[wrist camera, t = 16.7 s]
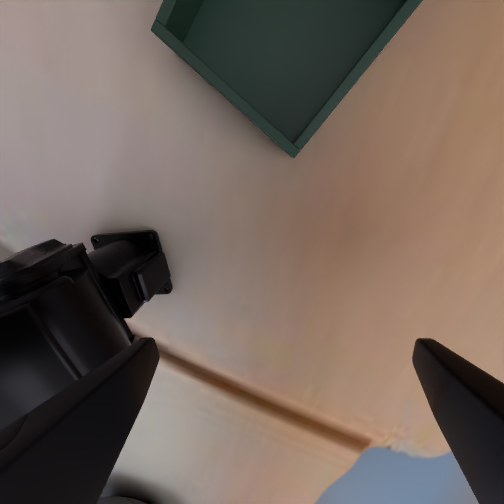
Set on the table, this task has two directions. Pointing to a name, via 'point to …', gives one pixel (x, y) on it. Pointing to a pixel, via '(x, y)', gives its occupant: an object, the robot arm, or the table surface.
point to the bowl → (118, 500)
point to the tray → (281, 54)
